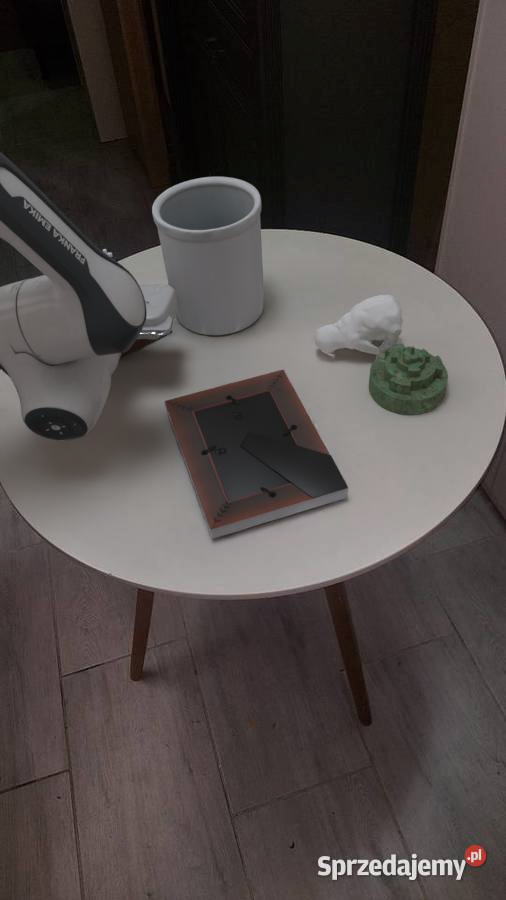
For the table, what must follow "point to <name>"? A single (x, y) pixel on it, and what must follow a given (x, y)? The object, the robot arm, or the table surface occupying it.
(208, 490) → the picture frame
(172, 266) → the utensil holder
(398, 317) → the white animal figurine
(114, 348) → the robot arm
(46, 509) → the table surface
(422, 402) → the decorative artifact
